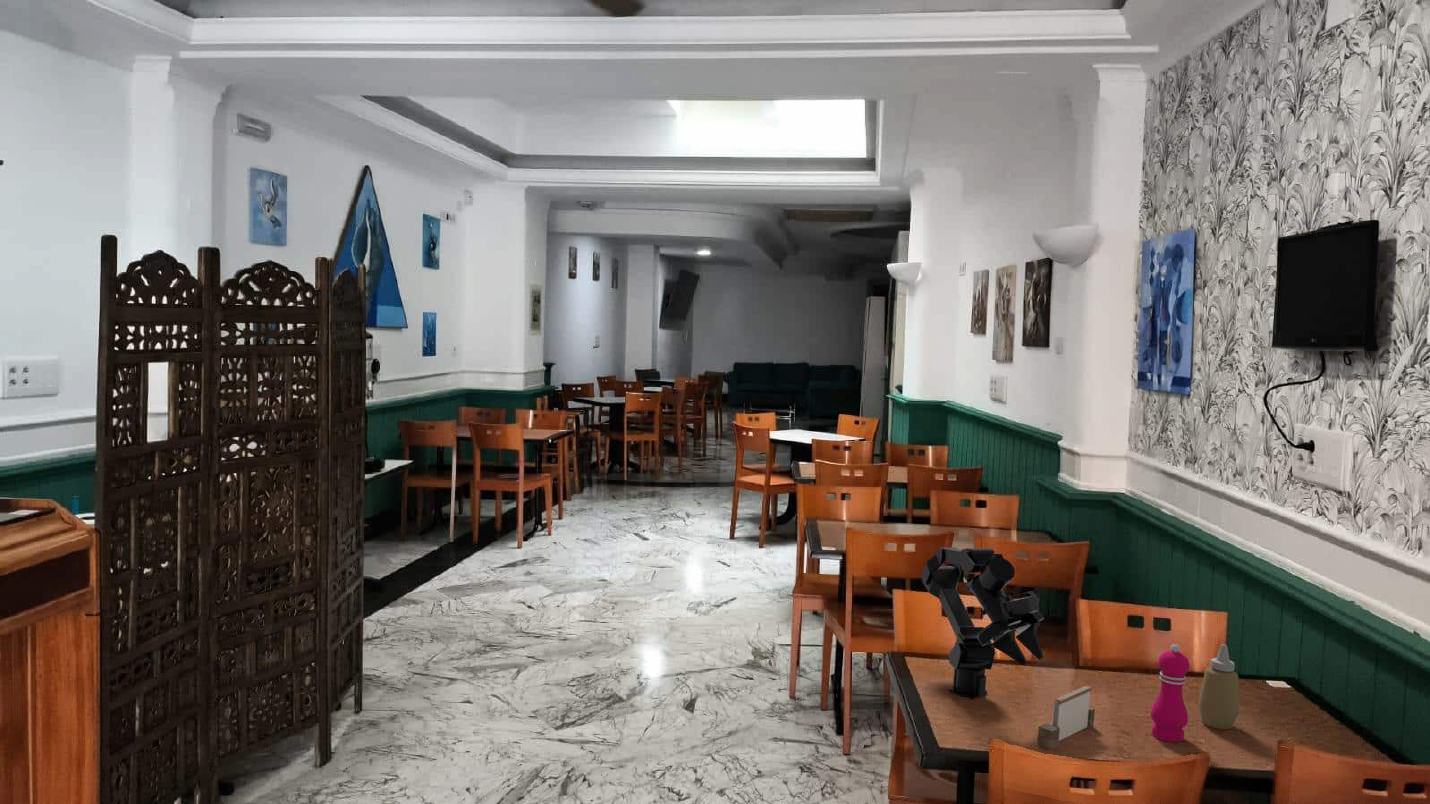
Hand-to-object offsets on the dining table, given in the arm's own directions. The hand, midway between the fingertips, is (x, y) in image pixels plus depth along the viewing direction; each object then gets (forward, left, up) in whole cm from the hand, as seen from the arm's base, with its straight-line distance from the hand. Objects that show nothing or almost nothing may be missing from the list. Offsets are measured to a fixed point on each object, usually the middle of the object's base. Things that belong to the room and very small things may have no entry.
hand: (1033, 661), depth 214 cm
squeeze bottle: (+27, +33, -13) cm, 44 cm away
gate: (+10, 0, -13) cm, 16 cm away
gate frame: (+10, -1, -13) cm, 16 cm away
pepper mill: (+23, +17, -13) cm, 31 cm away
